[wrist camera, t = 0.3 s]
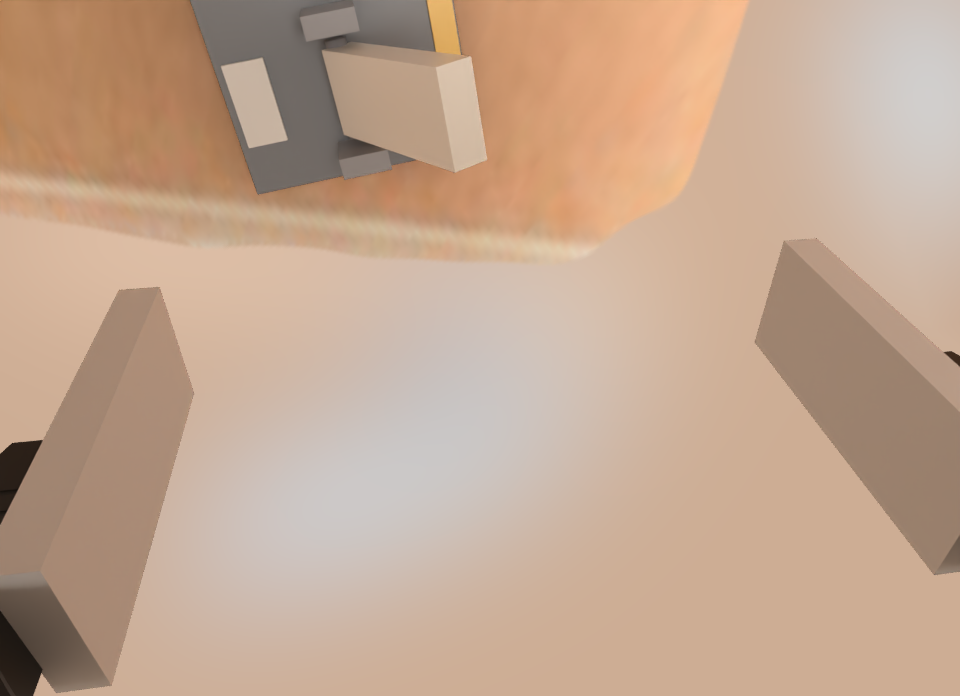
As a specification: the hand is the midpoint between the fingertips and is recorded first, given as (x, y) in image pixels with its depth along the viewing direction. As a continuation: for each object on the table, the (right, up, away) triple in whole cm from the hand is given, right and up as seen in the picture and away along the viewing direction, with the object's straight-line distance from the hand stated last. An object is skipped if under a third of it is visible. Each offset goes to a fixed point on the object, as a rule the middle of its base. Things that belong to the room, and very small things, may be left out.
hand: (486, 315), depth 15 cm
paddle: (-7, +12, +19) cm, 23 cm away
